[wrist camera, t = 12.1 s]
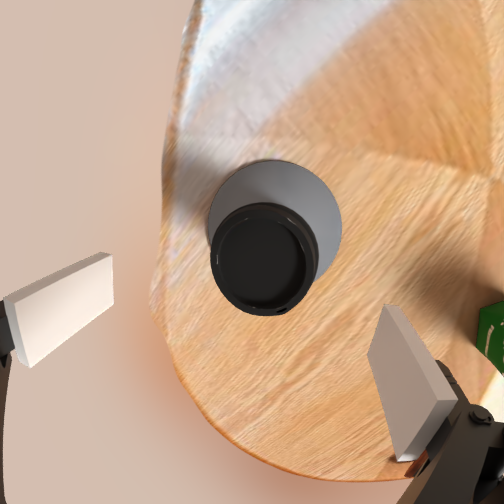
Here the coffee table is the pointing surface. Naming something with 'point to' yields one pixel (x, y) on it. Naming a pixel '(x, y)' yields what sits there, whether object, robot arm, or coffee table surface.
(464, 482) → the robot arm
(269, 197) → the disc
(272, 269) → the coffee cup
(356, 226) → the coffee table surface
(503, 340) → the milk carton
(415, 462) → the reddish brown rock
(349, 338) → the coffee table surface
